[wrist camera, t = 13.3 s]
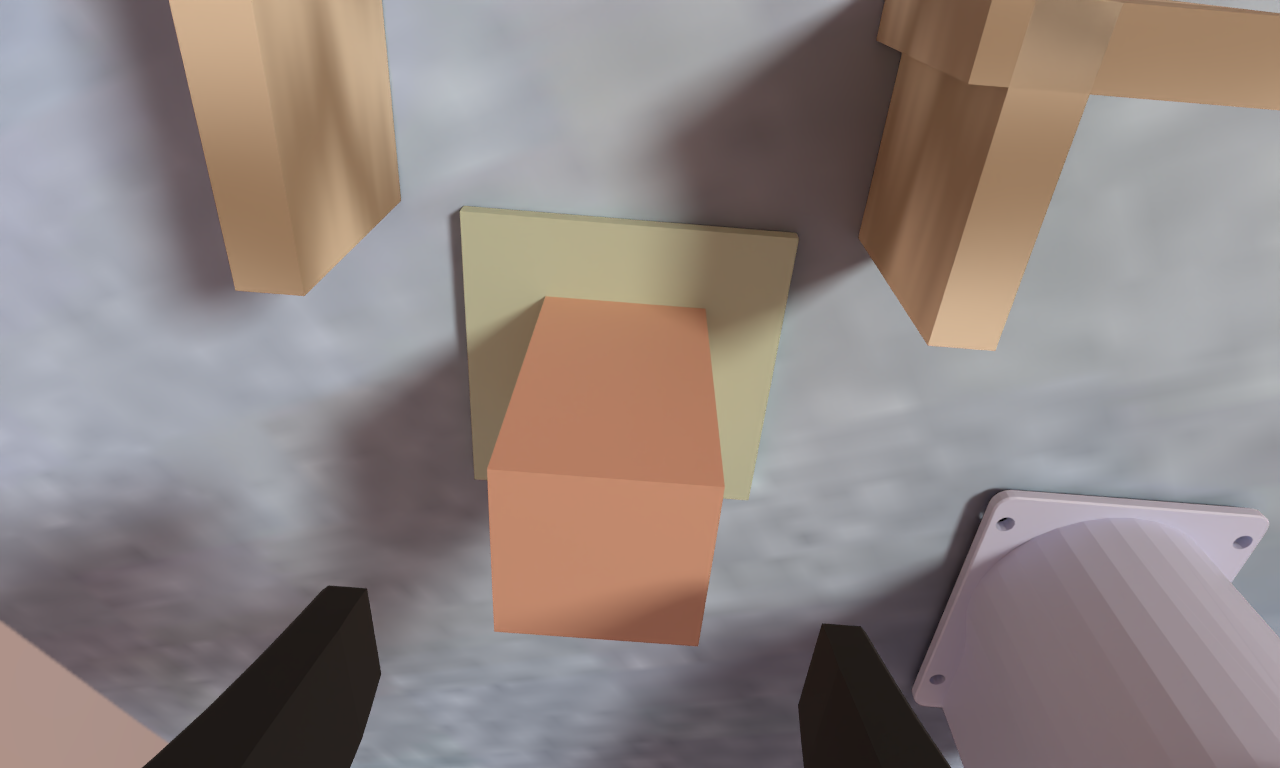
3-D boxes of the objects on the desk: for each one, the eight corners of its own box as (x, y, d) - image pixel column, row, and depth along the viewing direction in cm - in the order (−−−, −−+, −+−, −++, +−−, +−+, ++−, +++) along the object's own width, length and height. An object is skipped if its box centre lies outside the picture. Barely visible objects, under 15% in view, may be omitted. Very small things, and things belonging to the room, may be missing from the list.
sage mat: (747, 491, 22) (748, 500, 21) (477, 470, 22) (474, 479, 21) (796, 232, 18) (799, 238, 17) (464, 205, 18) (459, 211, 17)
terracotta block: (688, 439, 20) (698, 646, 14) (544, 428, 20) (494, 631, 14) (705, 308, 18) (725, 487, 12) (545, 296, 18) (487, 469, 12)
